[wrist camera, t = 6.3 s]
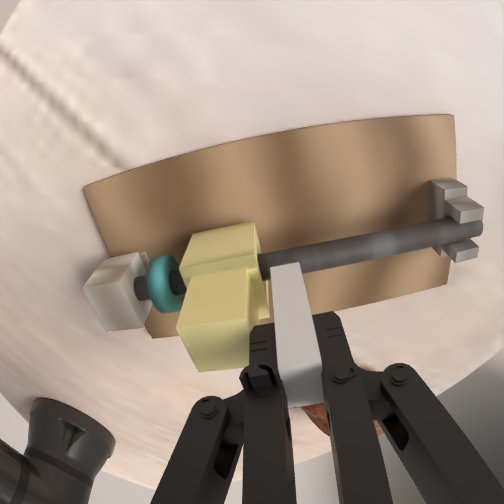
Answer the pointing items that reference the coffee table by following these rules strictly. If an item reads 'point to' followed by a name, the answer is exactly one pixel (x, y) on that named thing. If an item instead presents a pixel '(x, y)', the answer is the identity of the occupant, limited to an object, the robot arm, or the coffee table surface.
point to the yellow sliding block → (222, 296)
